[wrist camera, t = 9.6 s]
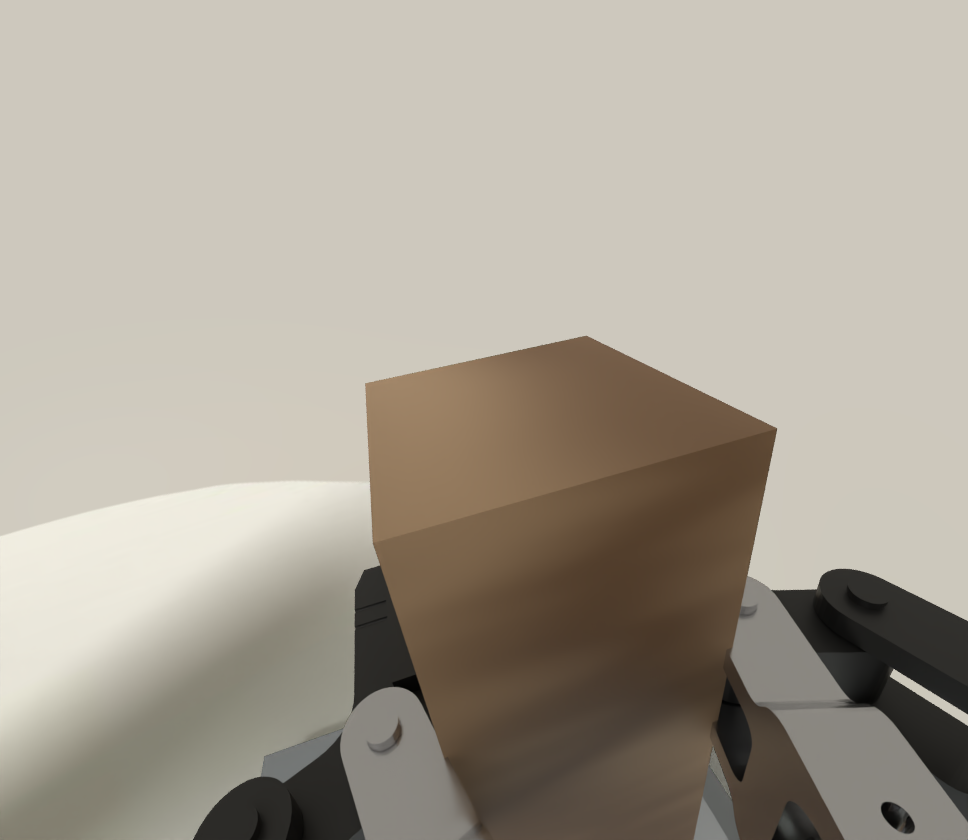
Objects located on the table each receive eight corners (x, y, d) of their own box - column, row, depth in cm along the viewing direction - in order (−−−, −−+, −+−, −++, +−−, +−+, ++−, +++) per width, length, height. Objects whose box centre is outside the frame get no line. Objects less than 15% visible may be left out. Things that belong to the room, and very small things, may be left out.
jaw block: (504, 940, 9) (373, 542, 4) (458, 719, 13) (365, 383, 8) (690, 850, 10) (776, 428, 5) (594, 669, 14) (586, 335, 9)
